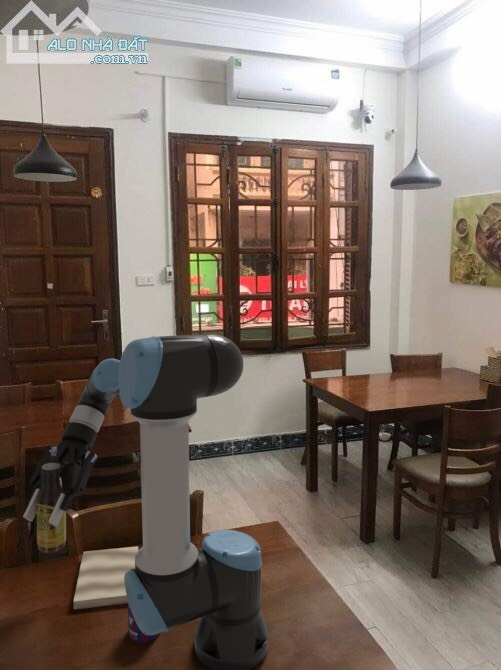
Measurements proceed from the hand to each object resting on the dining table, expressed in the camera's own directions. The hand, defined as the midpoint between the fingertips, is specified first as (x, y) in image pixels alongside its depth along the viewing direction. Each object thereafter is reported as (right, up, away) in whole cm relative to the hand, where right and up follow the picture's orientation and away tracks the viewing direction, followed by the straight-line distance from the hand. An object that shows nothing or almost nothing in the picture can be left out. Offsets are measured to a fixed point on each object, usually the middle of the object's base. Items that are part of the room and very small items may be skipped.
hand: (40, 521), depth 114 cm
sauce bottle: (+1, -8, +5) cm, 9 cm away
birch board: (+12, -19, +13) cm, 26 cm away
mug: (+25, -22, -4) cm, 34 cm away
